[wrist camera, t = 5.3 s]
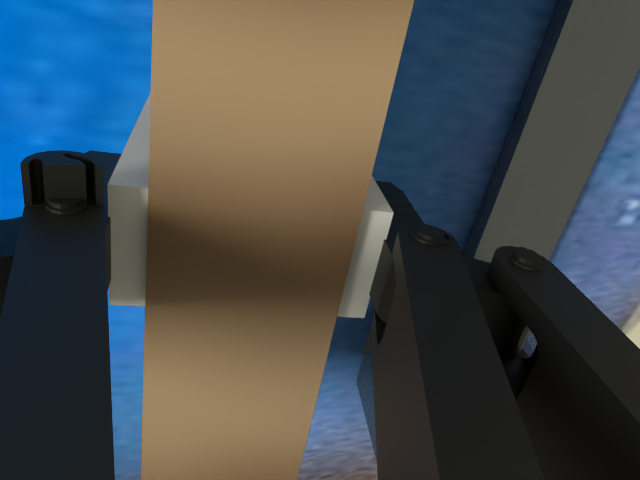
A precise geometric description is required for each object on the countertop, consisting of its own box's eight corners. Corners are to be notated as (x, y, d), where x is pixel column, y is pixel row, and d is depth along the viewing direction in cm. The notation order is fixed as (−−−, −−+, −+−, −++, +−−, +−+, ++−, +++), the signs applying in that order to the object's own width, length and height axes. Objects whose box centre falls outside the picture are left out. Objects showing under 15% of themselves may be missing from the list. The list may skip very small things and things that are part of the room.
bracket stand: (473, 394, 32) (581, 612, 22) (353, 390, 31) (411, 623, 21) (822, -374, 16) (1814, -871, 6) (608, -465, 15) (1459, -1346, 4)
